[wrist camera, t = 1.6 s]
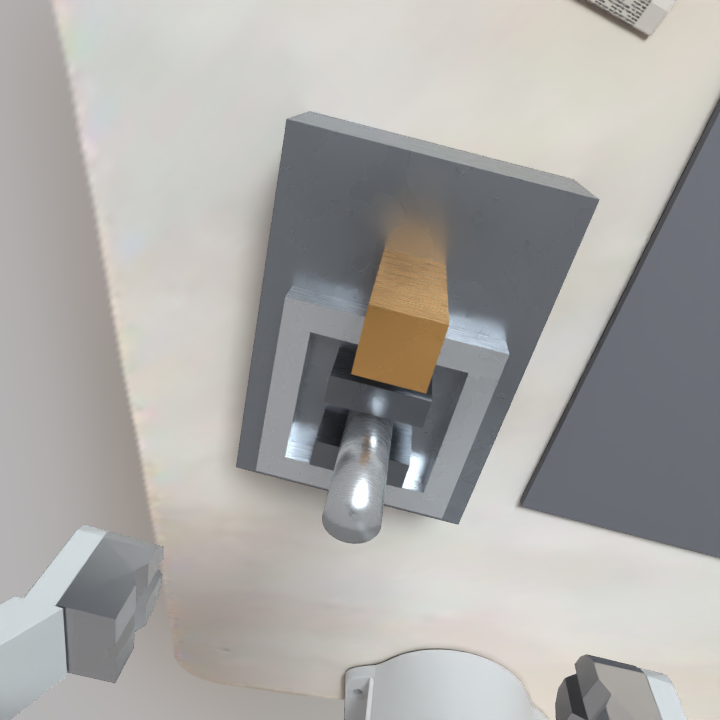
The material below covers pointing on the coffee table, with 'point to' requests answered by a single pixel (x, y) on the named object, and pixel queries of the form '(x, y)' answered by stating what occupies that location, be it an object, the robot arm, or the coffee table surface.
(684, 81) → the coffee table surface
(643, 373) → the mat
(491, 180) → the toggle switch
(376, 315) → the square frame with handle
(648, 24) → the newspaper
